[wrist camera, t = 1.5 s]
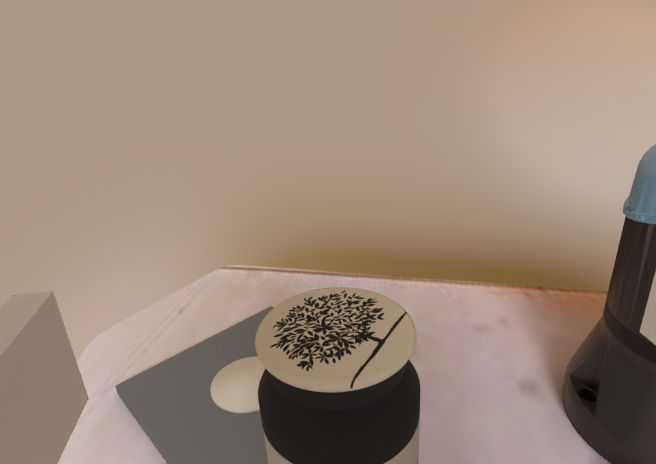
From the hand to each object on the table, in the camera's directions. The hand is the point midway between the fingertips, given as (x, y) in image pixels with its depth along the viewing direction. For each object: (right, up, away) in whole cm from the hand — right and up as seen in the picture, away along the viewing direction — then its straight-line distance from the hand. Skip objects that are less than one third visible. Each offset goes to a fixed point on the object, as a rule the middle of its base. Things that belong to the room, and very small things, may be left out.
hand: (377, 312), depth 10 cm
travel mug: (0, -19, +19) cm, 27 cm away
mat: (-8, -13, +33) cm, 37 cm away
